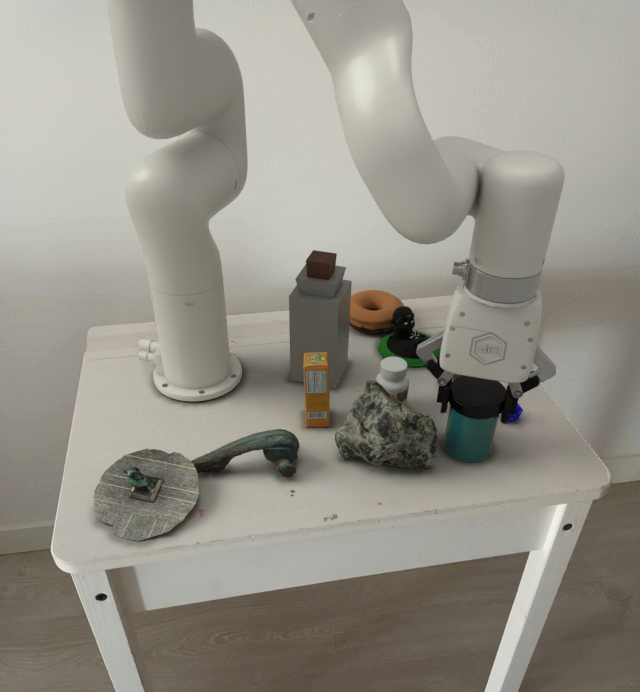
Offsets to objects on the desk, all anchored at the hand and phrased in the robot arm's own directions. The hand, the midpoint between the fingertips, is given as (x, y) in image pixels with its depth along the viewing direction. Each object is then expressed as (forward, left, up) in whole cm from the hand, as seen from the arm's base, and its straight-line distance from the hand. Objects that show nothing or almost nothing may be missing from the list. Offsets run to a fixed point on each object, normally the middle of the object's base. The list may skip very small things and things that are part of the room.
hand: (474, 410), depth 80 cm
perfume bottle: (-22, +11, -6) cm, 26 cm away
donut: (-18, +27, -2) cm, 32 cm away
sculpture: (-37, -21, -8) cm, 43 cm away
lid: (0, 0, +3) cm, 3 cm away
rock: (-10, -5, -6) cm, 13 cm away
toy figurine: (-11, +20, -6) cm, 24 cm away
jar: (0, 0, -6) cm, 6 cm away
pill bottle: (-11, +4, -6) cm, 13 cm away
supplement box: (-20, 0, -6) cm, 21 cm away
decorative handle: (-26, -12, -6) cm, 30 cm away
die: (+5, +7, -6) cm, 11 cm away
